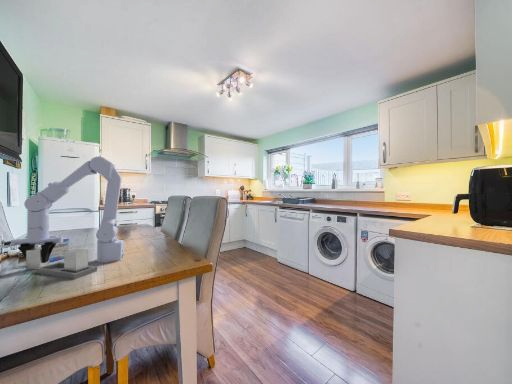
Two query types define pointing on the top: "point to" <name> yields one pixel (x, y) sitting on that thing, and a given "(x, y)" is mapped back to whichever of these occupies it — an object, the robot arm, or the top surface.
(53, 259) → the medicine box
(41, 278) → the top surface
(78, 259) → the billet
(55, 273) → the grey flat frame
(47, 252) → the robot arm
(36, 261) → the block
